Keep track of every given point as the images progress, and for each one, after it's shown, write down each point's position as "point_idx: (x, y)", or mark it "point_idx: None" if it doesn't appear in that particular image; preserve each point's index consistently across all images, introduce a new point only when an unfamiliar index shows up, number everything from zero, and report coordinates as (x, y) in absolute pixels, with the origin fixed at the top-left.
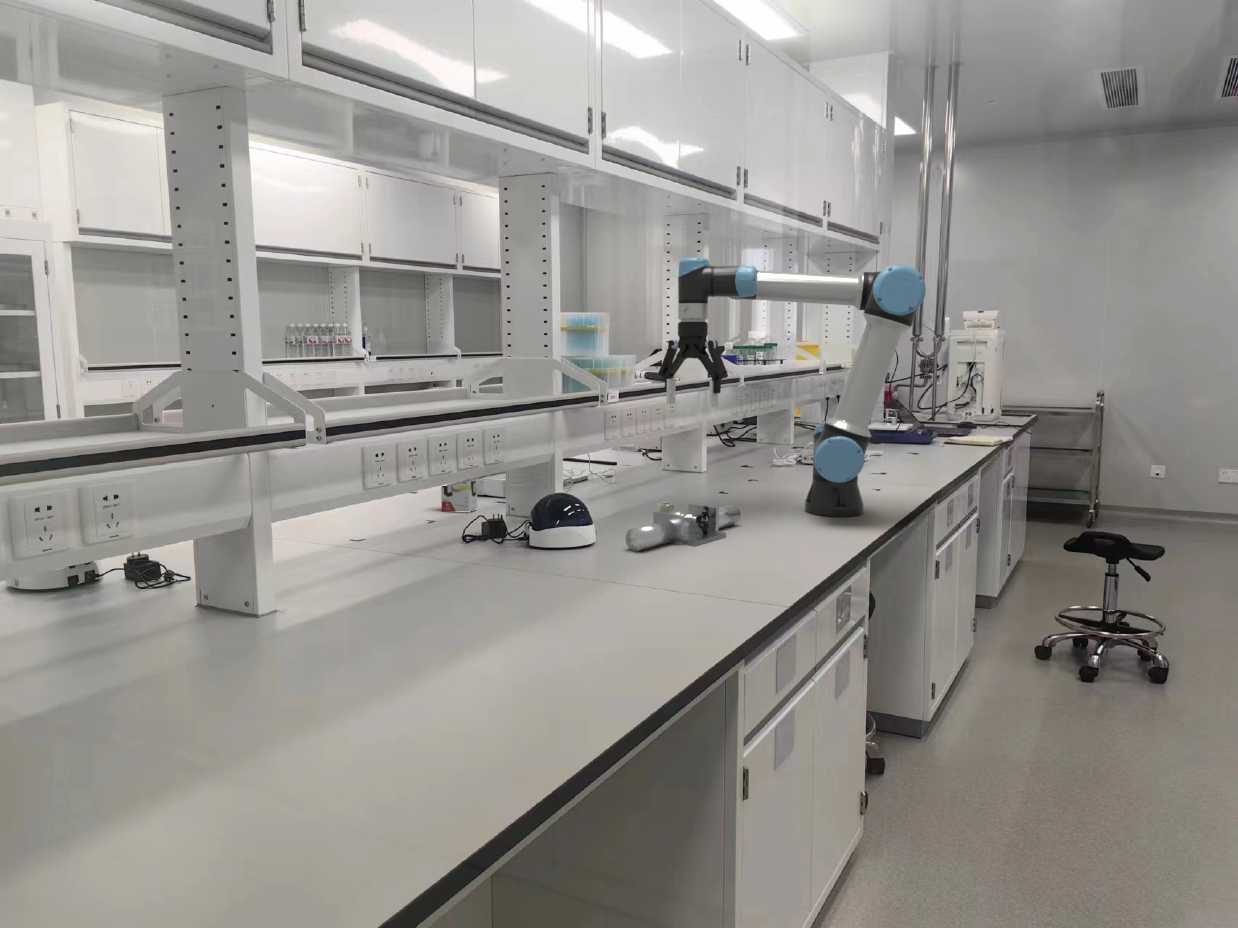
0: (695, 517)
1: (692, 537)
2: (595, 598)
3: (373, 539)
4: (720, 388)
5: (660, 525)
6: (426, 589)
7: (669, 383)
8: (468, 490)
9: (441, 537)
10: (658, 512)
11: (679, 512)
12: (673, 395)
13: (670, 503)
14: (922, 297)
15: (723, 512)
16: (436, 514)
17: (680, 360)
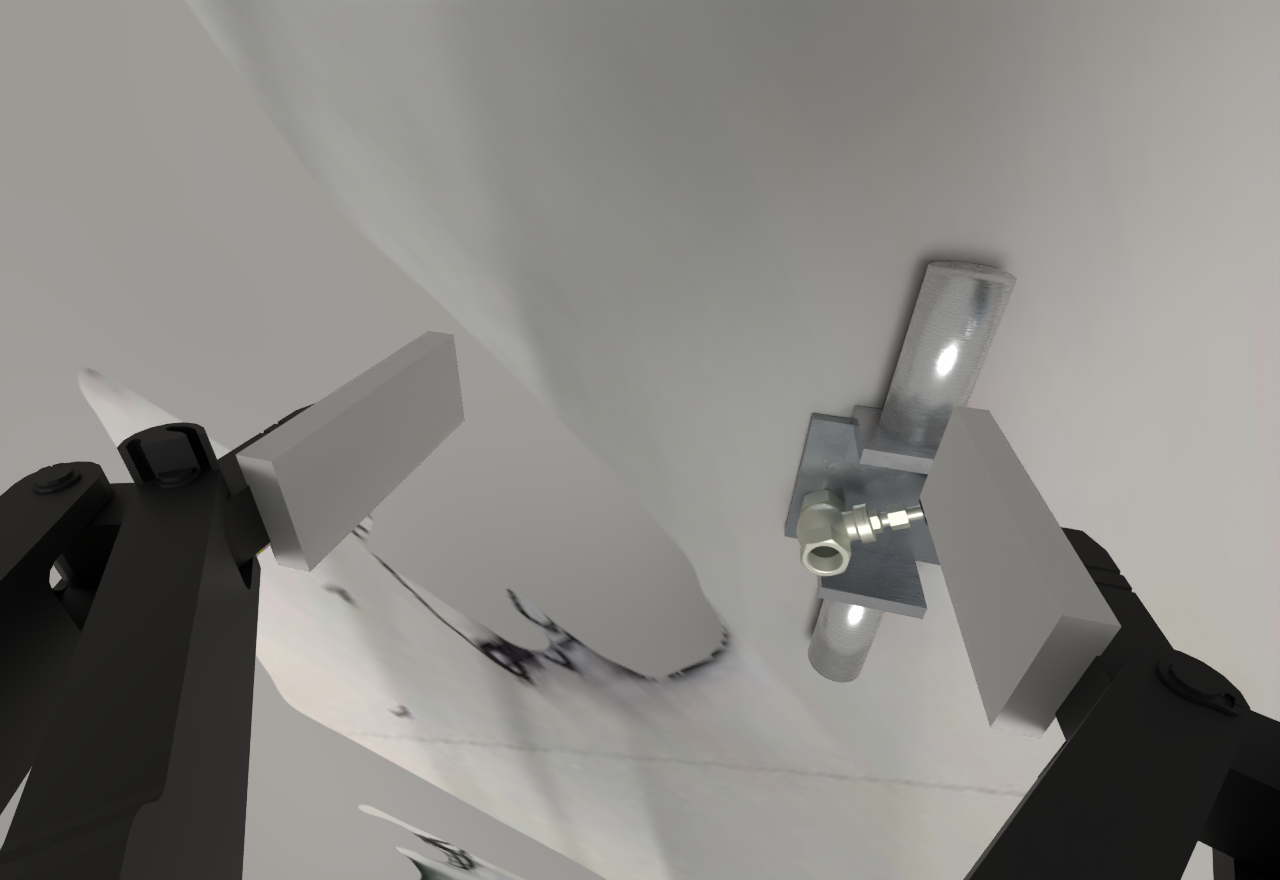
0: (921, 518)
1: (926, 533)
2: (921, 834)
3: (412, 704)
4: (1123, 582)
5: (870, 626)
6: (690, 839)
7: (345, 529)
8: (266, 547)
9: (467, 668)
10: (836, 600)
11: (870, 538)
12: (414, 396)
13: (835, 547)
14: None
15: (972, 380)
16: None
17: (221, 854)
